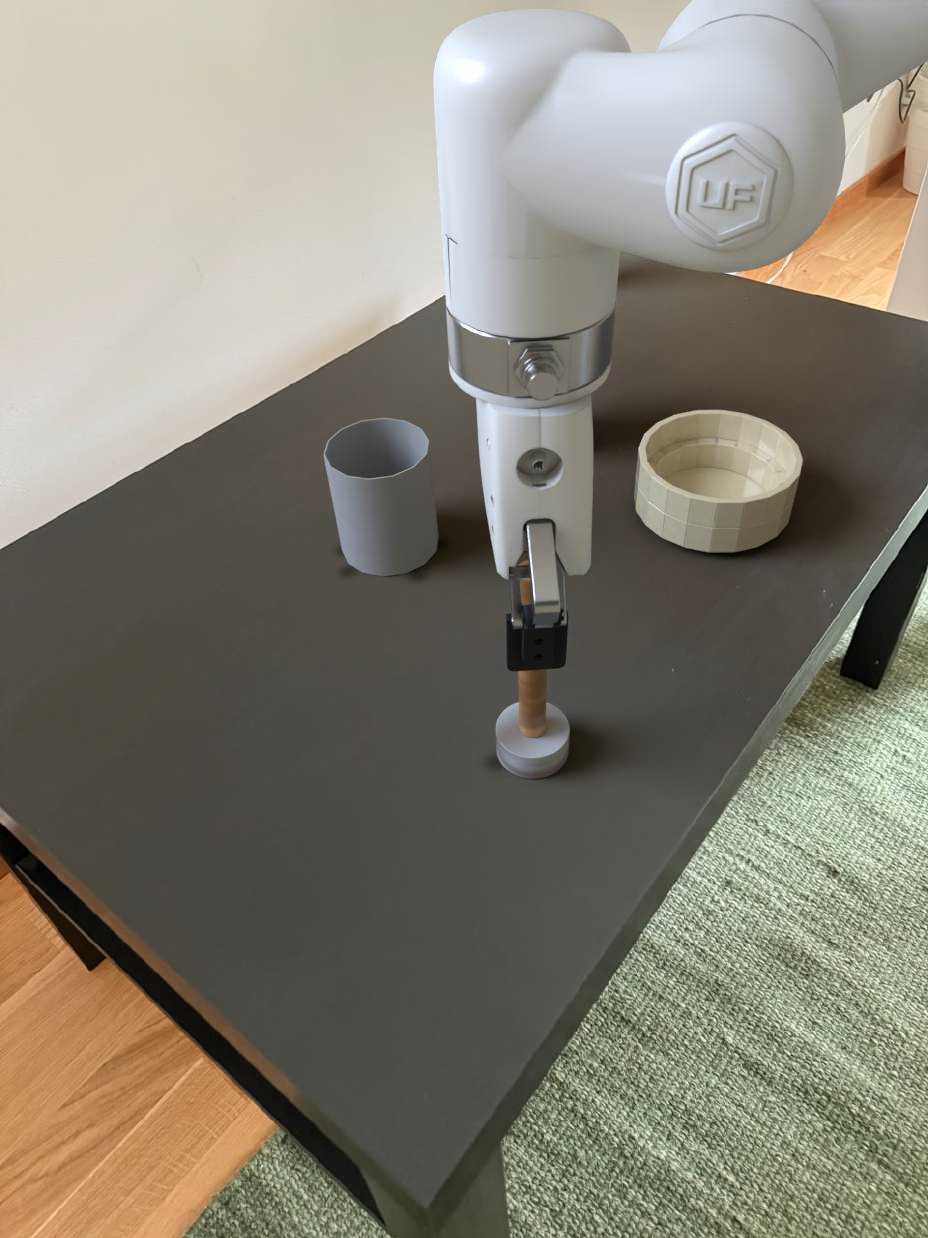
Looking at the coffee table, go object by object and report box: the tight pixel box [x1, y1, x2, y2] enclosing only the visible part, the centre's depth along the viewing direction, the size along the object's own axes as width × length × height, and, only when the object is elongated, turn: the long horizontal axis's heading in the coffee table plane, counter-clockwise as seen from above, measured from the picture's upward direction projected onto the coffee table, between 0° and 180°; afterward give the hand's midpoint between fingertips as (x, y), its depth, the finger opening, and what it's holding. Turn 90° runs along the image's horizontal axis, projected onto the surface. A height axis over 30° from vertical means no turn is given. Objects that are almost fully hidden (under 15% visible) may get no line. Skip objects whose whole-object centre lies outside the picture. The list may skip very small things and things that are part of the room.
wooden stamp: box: [495, 559, 571, 780], centre depth 58 cm, size 5×5×17 cm
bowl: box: [633, 409, 804, 553], centre depth 79 cm, size 13×13×6 cm
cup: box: [322, 417, 439, 577], centre depth 77 cm, size 8×8×10 cm
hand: (526, 604), depth 54 cm, fingers open, 9 cm apart
